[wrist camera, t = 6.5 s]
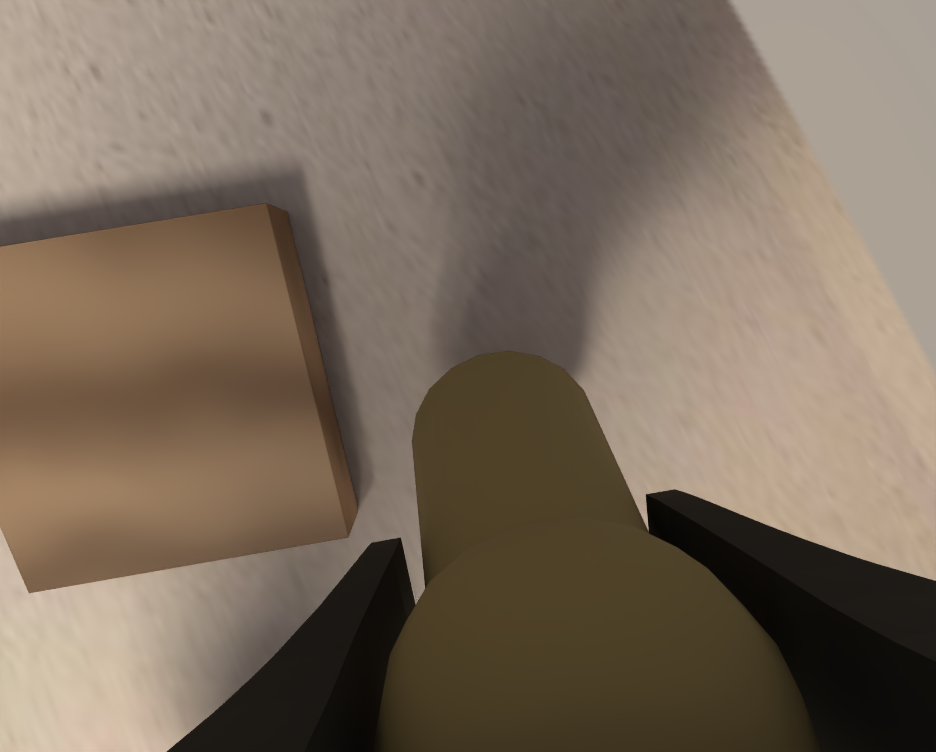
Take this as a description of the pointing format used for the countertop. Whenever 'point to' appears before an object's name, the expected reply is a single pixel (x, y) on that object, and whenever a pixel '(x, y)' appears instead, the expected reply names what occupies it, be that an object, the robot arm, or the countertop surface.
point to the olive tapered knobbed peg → (563, 595)
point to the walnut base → (163, 400)
